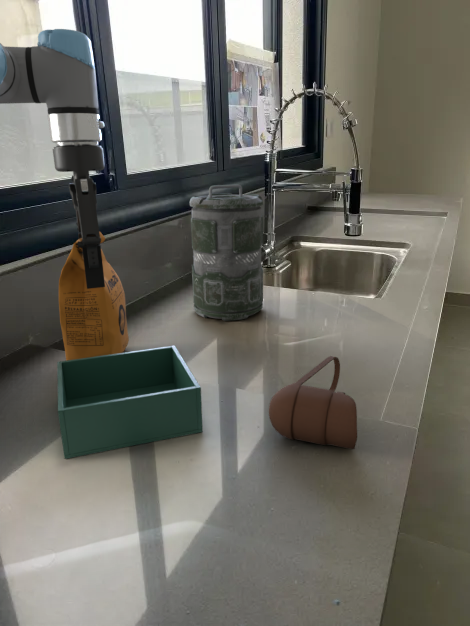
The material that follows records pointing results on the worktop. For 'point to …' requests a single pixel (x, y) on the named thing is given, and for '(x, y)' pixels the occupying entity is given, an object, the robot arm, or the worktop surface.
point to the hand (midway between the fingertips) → (93, 277)
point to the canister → (227, 254)
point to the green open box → (126, 400)
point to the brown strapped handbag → (315, 412)
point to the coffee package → (91, 310)
